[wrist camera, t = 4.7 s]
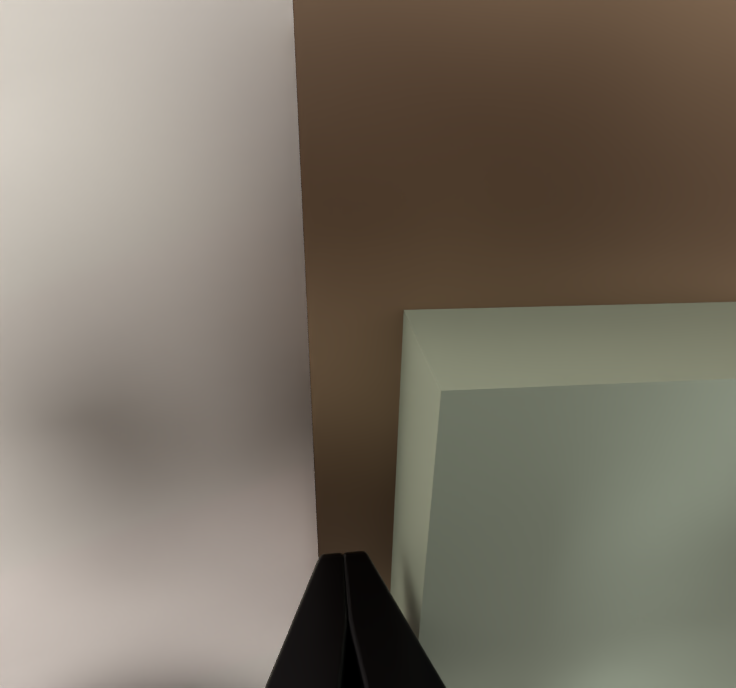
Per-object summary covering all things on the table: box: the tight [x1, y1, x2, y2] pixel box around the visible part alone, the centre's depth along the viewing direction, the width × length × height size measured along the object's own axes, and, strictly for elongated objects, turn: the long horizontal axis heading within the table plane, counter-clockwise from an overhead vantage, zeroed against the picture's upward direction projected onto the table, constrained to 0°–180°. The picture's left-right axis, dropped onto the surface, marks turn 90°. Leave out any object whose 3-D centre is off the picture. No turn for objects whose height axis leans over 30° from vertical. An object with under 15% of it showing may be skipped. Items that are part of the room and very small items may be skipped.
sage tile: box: [390, 302, 736, 688], centre depth 9 cm, size 9×6×2 cm, turn 179°
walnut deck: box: [293, 0, 736, 591], centre depth 12 cm, size 18×12×4 cm, turn 179°
